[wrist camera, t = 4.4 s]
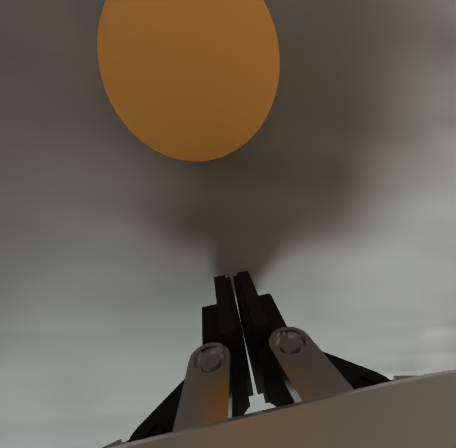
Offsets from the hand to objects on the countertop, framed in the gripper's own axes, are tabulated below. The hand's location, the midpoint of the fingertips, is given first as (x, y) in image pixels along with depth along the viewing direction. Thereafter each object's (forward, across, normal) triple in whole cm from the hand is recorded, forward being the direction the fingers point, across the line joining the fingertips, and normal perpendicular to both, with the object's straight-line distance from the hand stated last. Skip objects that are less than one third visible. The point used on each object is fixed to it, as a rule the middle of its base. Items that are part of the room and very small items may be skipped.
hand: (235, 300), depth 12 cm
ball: (-1, 0, -10) cm, 10 cm away
